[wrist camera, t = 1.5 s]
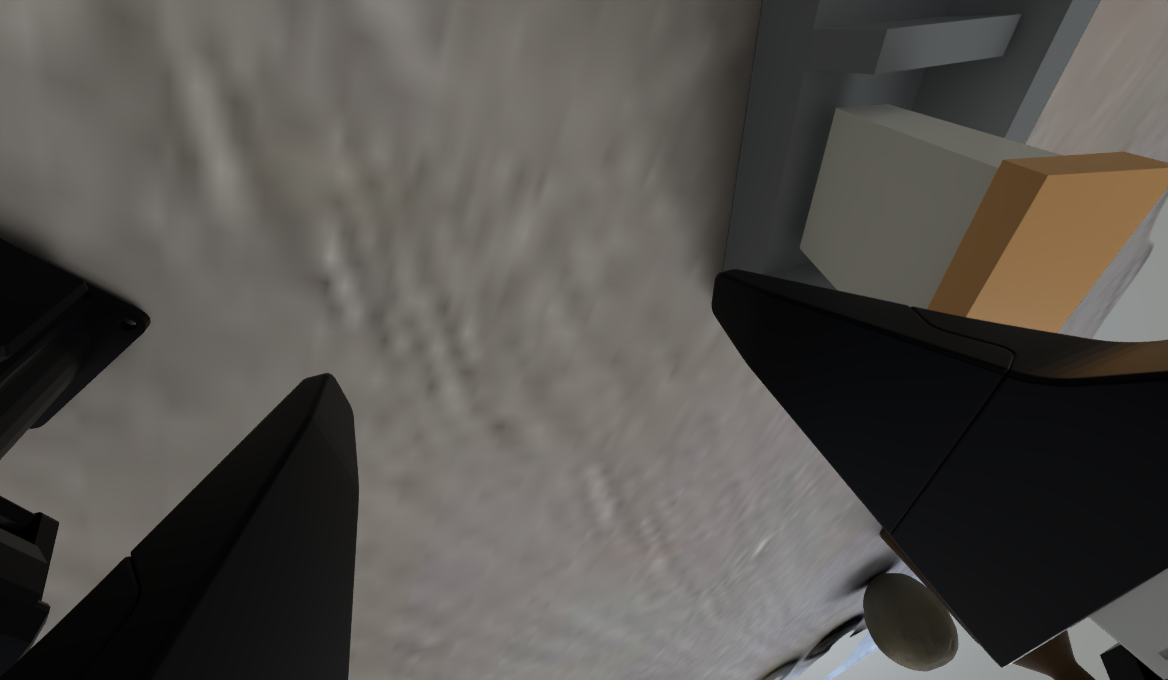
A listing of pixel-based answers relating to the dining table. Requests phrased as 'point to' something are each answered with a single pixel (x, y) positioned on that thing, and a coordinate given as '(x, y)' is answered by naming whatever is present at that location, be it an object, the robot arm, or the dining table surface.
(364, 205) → the dining table surface
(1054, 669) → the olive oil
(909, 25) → the breaker box
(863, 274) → the breaker lever
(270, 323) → the dining table surface
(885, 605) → the cantaloupe
